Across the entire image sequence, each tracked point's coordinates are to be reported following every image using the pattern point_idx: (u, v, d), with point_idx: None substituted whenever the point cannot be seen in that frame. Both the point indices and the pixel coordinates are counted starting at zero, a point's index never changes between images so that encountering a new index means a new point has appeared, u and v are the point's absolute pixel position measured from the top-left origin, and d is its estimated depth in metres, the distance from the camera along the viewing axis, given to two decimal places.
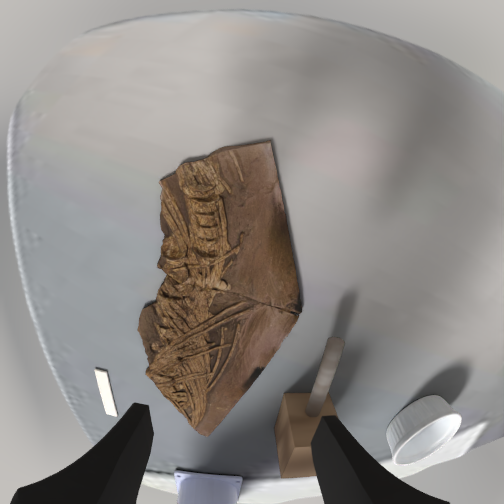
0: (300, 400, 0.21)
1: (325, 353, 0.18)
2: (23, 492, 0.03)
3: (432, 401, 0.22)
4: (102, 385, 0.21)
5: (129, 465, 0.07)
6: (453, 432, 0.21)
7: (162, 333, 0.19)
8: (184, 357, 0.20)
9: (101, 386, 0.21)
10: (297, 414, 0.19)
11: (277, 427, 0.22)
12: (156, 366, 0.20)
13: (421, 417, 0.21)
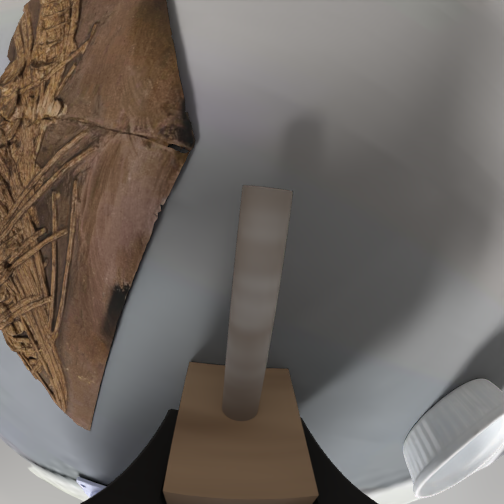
0: (219, 380, 0.10)
1: (239, 224, 0.07)
2: None
3: (482, 388, 0.11)
4: None
5: None
6: None
7: None
8: (12, 265, 0.09)
9: None
10: (201, 409, 0.08)
11: None
12: None
13: (468, 418, 0.10)
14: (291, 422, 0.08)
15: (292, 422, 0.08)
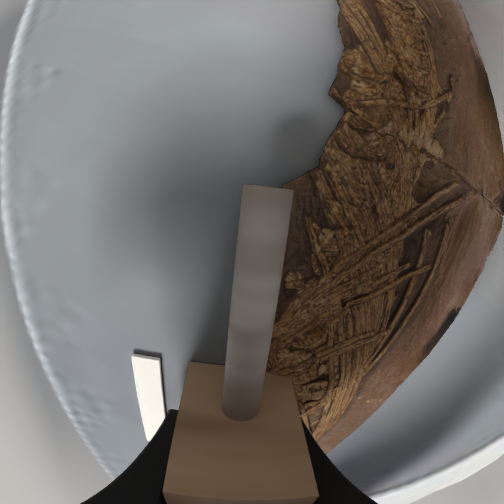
0: (219, 380, 0.10)
1: (239, 223, 0.07)
2: None
3: None
4: (145, 388, 0.11)
5: None
6: None
7: (321, 242, 0.09)
8: (349, 302, 0.10)
9: (142, 391, 0.11)
10: (201, 409, 0.08)
11: None
12: (286, 330, 0.10)
13: None
14: (291, 422, 0.08)
15: (292, 422, 0.08)
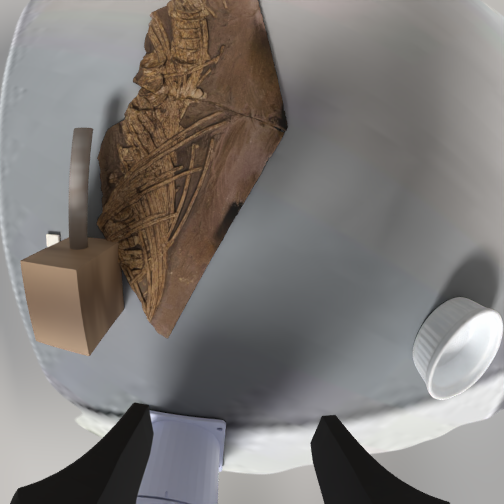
0: None
1: None
2: (23, 492, 0.03)
3: (465, 300, 0.19)
4: None
5: (129, 465, 0.07)
6: (494, 351, 0.17)
7: (123, 155, 0.15)
8: (144, 191, 0.16)
9: None
10: (61, 245, 0.15)
11: None
12: (109, 207, 0.16)
13: (457, 315, 0.17)
14: (97, 252, 0.14)
15: (97, 252, 0.14)
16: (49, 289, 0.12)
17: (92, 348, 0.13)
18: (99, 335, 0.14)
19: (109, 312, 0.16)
